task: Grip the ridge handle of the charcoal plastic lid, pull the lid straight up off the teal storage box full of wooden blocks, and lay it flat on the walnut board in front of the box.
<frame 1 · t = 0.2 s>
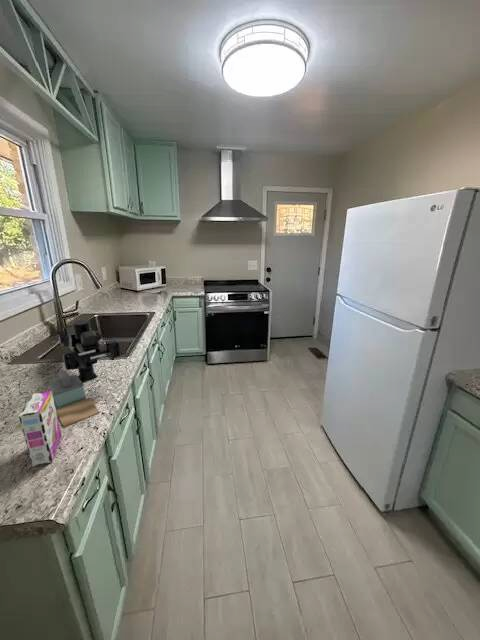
hand: (100, 362, 95), 16 cm above the counter, tool horizontal, fingers open, 9 cm apart
walnut board: (77, 411, 95), on the counter
lid: (66, 388, 102), point 4 cm above the counter, touching storage box
candy bar box: (48, 451, 78), on the counter
storage box: (68, 397, 103), on the counter
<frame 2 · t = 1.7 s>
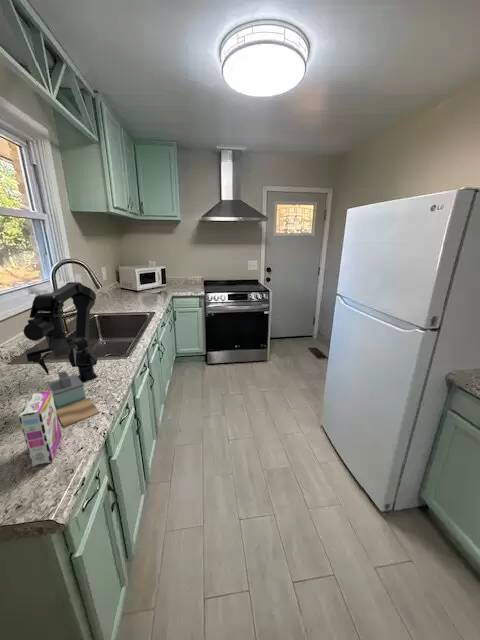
hand: (62, 369, 99), 12 cm above the counter, tool pointing down, fingers open, 9 cm apart
nothing on the counter moved.
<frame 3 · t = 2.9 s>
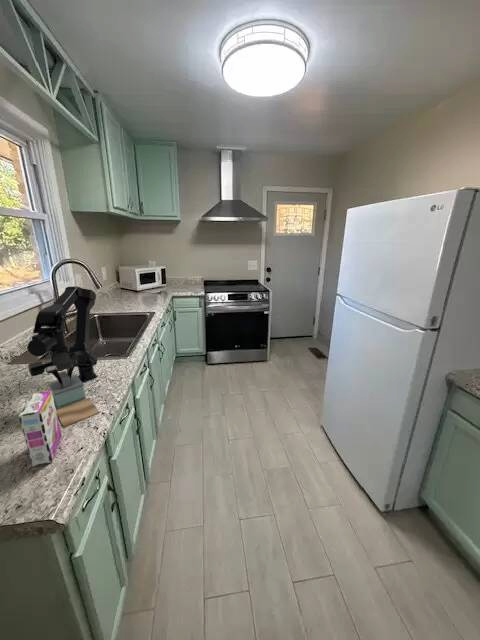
hand: (65, 382, 101), 7 cm above the counter, tool pointing down, fingers closed on lid, 2 cm apart
lid: (66, 388, 102), point 4 cm above the counter, touching gripper, storage box
everything else where it was.
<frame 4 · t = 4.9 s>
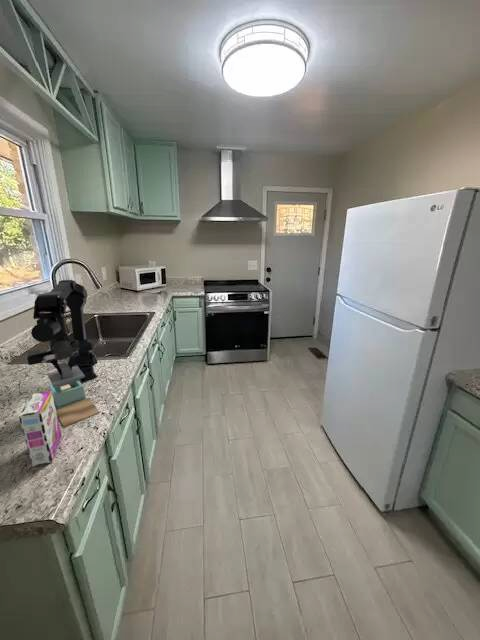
hand: (65, 373, 94), 13 cm above the counter, tool pointing down, fingers closed on lid, 2 cm apart
lid: (66, 379, 95), point 11 cm above the counter, touching gripper
everything else where it was.
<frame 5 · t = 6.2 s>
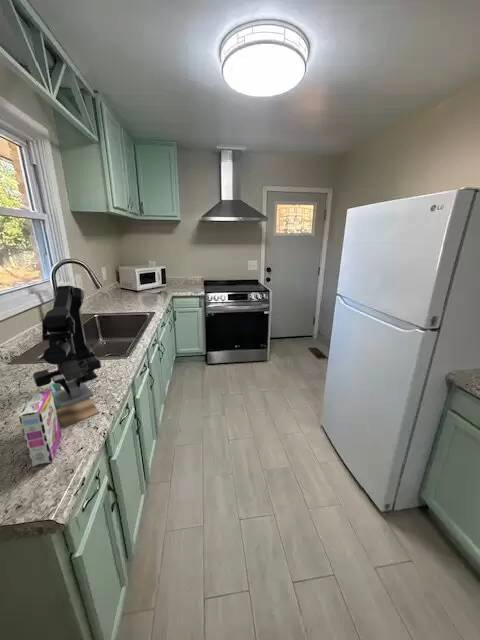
hand: (73, 392, 92), 8 cm above the counter, tool pointing down, fingers closed on lid, 2 cm apart
lid: (74, 398, 93), point 6 cm above the counter, touching gripper
everything else where it was.
when the fingers open (4 cm above the counter, at t = 7.0 s): lid drops 2 cm, resting on walnut board.
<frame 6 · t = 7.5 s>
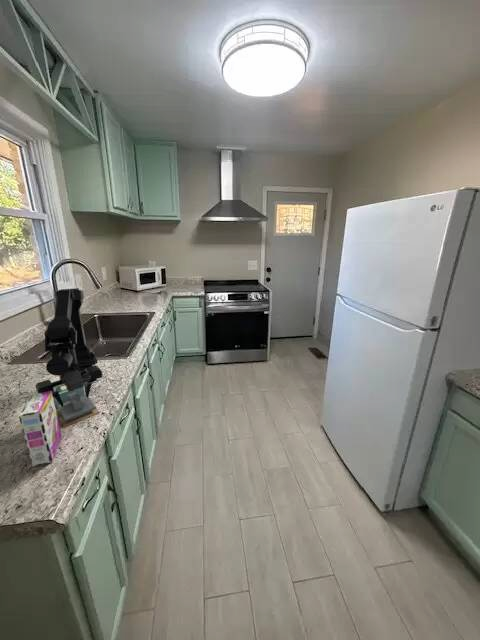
hand: (75, 401, 93), 4 cm above the counter, tool pointing down, fingers open, 7 cm apart
lid: (77, 410, 95), resting on walnut board
everything else where it was.
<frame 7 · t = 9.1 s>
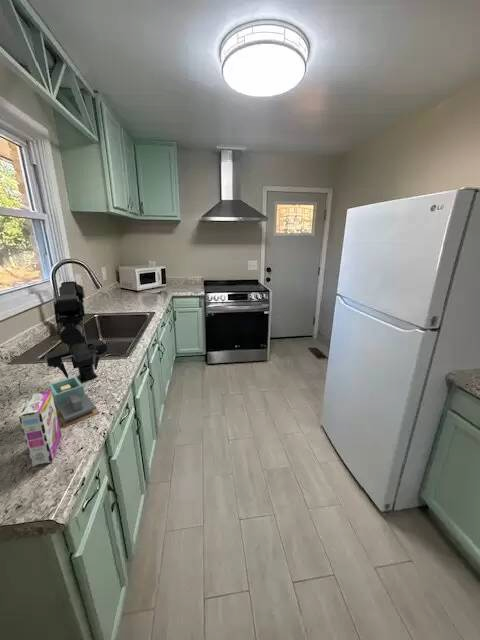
hand: (82, 373, 98), 12 cm above the counter, tool pointing down, fingers open, 9 cm apart
nothing on the counter moved.
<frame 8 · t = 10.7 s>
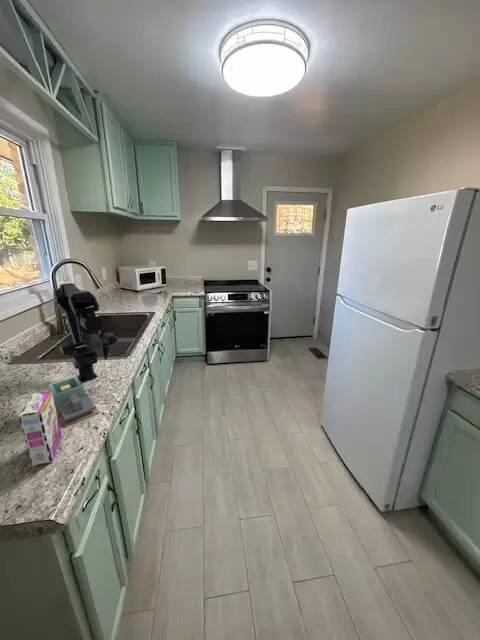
hand: (93, 363, 105), 12 cm above the counter, tool pointing down, fingers open, 9 cm apart
nothing on the counter moved.
at the end: lid 0.1 cm off-centre on the walnut board, point 0.4 cm above the walnut board's base; lid tilted 0°; the gripper is holding nothing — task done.
